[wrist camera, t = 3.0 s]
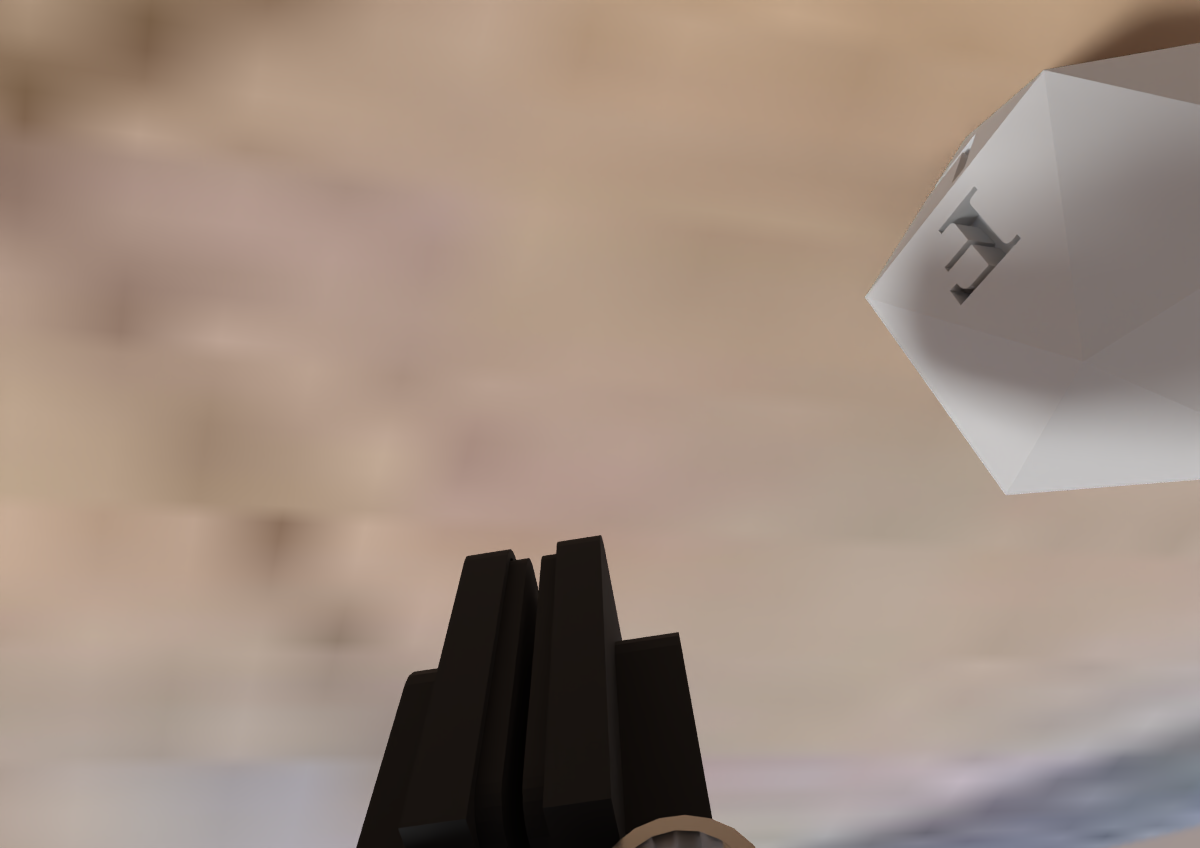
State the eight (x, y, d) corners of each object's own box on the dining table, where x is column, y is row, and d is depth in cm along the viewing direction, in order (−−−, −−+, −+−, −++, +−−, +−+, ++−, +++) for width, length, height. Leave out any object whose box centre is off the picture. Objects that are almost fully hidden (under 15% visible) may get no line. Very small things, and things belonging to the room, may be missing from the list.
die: (1121, -46, 18) (1042, -57, 11) (1507, 183, 16) (1708, 347, 9) (891, 250, 24) (741, 368, 17) (1157, 447, 22) (1114, 677, 15)
